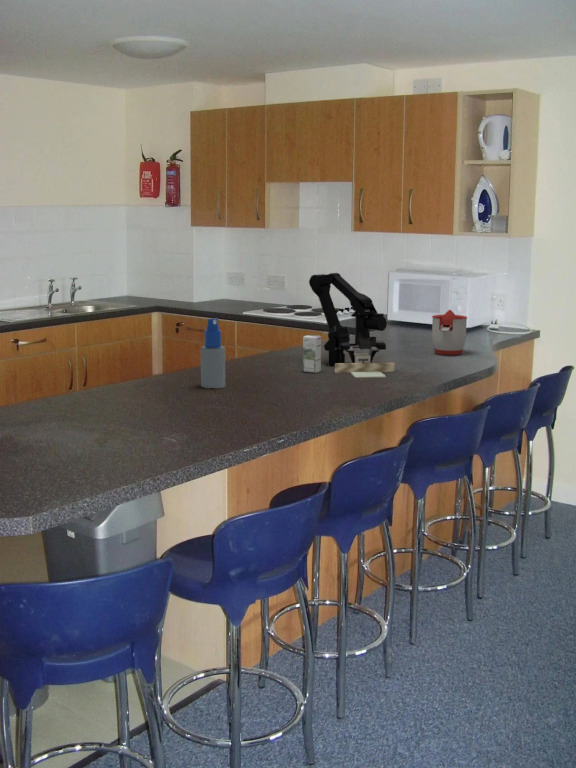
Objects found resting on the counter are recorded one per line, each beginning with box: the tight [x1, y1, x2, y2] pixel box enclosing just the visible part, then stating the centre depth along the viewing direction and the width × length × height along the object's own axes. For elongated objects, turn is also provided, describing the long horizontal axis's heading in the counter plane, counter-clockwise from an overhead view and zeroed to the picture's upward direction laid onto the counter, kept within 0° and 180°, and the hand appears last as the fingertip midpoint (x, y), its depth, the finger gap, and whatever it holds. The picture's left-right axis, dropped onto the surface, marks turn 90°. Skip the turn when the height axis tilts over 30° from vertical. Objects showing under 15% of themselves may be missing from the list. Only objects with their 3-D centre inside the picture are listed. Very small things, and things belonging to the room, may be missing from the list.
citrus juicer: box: [431, 309, 468, 357], centre depth 393 cm, size 16×17×20 cm
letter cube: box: [354, 352, 371, 363], centre depth 357 cm, size 6×6×6 cm
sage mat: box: [350, 372, 387, 379], centre depth 344 cm, size 12×10×1 cm
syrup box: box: [302, 334, 322, 374], centre depth 350 cm, size 6×6×14 cm
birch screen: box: [334, 362, 396, 374], centre depth 351 cm, size 24×2×4 cm, turn 96°
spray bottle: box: [200, 317, 226, 389], centre depth 319 cm, size 9×9×25 cm
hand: (361, 366), depth 357 cm, fingers closed on letter cube, 6 cm apart
